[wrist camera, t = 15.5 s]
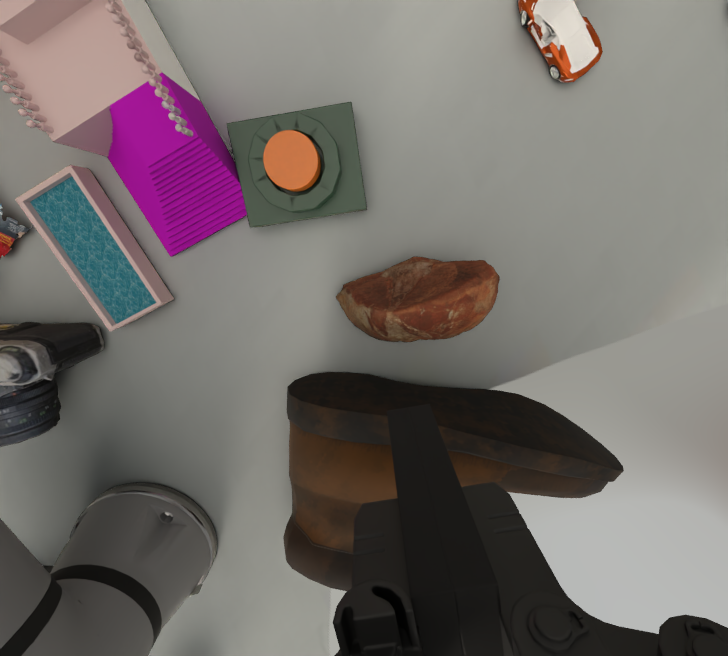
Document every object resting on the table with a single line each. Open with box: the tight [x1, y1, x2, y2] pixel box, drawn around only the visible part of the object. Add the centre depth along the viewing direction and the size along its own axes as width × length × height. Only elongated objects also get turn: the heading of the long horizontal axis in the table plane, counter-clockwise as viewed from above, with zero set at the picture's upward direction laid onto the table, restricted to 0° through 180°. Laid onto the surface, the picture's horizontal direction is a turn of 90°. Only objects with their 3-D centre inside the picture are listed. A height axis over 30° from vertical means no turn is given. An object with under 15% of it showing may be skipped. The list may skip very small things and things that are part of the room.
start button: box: [263, 130, 321, 192], centre depth 27 cm, size 4×4×2 cm
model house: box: [0, 0, 247, 332], centre depth 26 cm, size 25×17×11 cm
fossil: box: [336, 257, 499, 342], centre depth 31 cm, size 13×8×10 cm
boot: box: [284, 372, 623, 591], centre depth 34 cm, size 11×30×20 cm
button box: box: [227, 102, 367, 227], centre depth 30 cm, size 10×8×4 cm
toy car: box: [518, 0, 603, 83], centre depth 27 cm, size 5×8×3 cm, turn 37°
